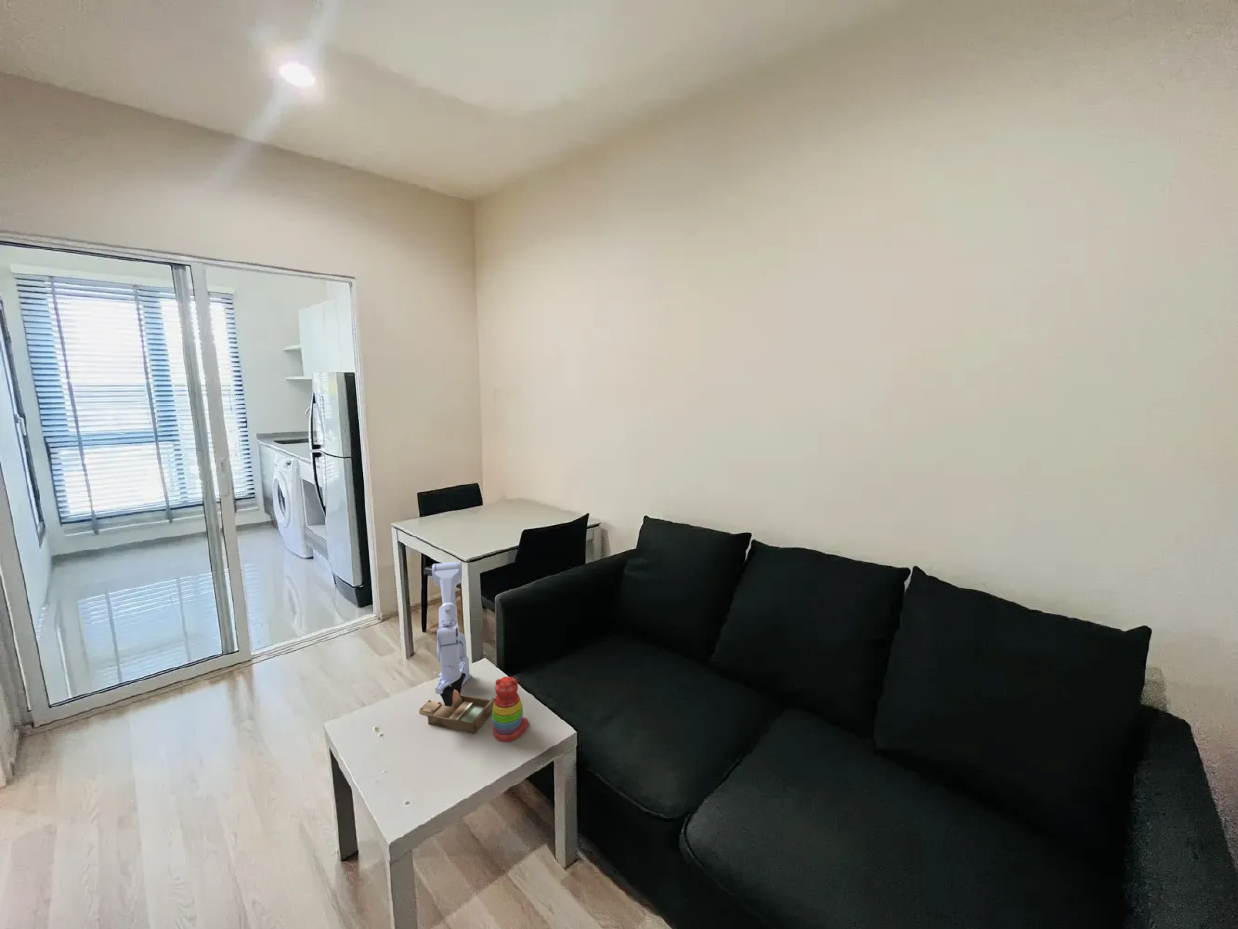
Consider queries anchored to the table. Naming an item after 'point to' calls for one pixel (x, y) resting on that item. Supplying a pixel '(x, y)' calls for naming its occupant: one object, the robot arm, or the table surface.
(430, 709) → the wooden footed board
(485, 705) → the wooden tray
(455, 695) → the ball
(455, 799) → the table surface
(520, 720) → the stacking bear
